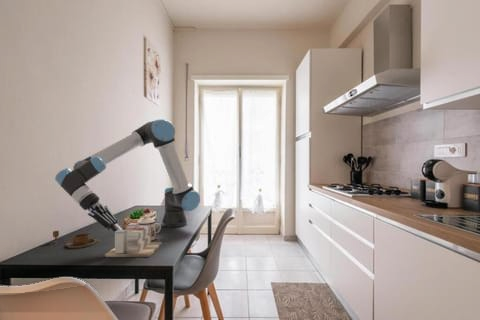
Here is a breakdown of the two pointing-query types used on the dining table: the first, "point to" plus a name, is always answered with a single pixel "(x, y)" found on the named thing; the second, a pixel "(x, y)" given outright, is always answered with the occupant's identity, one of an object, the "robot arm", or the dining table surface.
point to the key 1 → (120, 241)
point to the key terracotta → (130, 229)
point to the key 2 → (133, 224)
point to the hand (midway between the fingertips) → (123, 236)
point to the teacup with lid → (149, 222)
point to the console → (138, 244)
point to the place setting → (77, 240)
